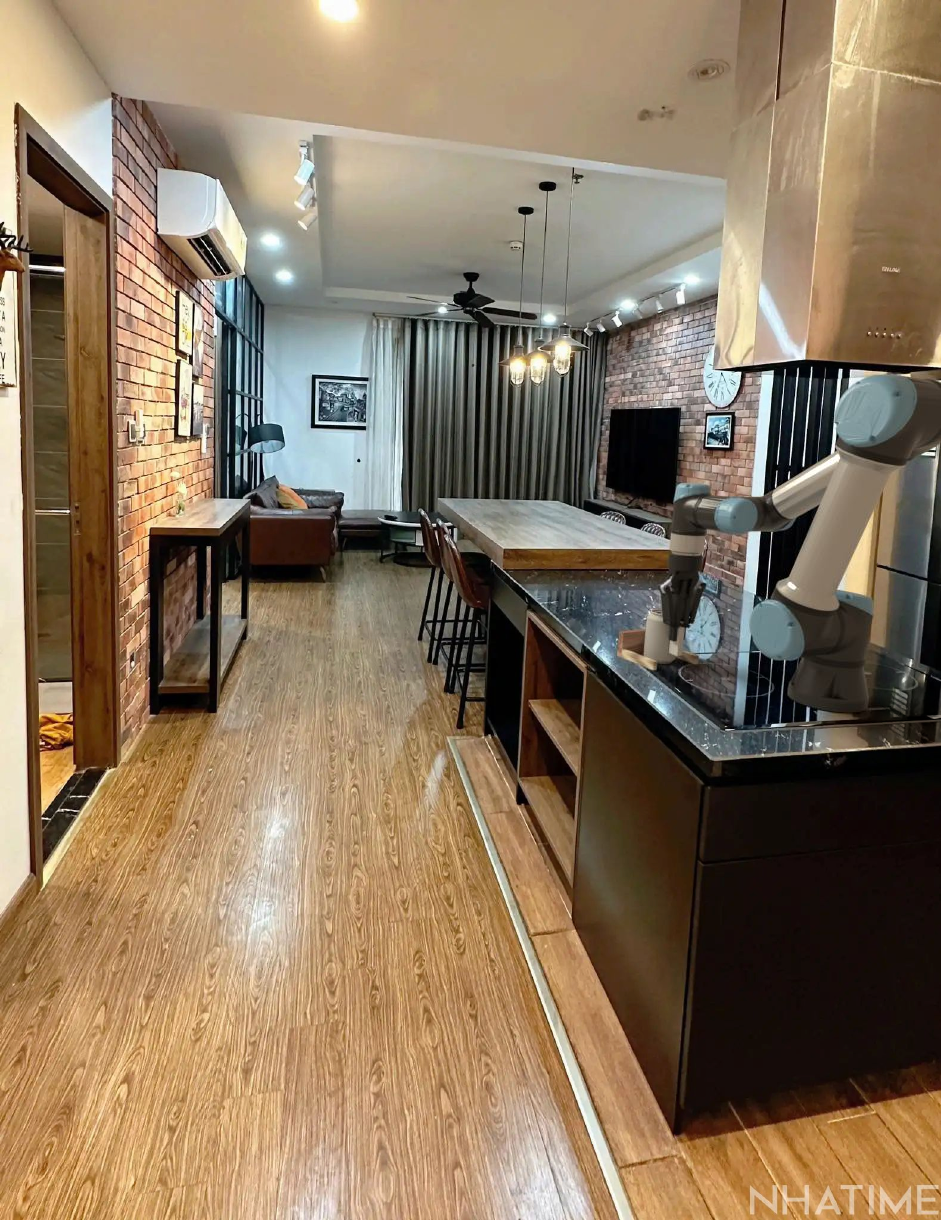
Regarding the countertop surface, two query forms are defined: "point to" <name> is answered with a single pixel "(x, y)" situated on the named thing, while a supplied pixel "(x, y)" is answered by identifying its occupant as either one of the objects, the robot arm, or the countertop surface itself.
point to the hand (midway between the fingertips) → (675, 654)
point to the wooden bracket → (634, 649)
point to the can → (657, 638)
